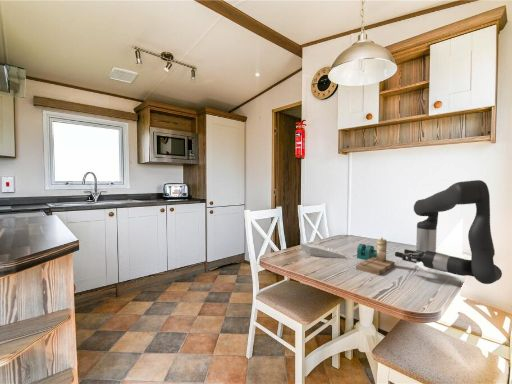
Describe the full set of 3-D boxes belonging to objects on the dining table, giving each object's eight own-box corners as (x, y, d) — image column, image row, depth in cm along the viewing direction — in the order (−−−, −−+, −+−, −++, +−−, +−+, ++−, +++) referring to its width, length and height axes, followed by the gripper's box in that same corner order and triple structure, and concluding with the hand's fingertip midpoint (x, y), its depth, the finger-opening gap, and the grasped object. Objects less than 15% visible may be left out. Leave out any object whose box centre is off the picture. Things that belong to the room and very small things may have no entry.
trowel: (349, 255, 150) (349, 246, 150) (341, 262, 137) (341, 252, 137) (305, 248, 166) (305, 239, 166) (294, 253, 153) (294, 244, 153)
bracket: (368, 261, 138) (369, 247, 138) (357, 258, 143) (357, 244, 143) (382, 254, 150) (382, 241, 150) (370, 252, 155) (371, 239, 155)
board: (372, 260, 139) (373, 256, 139) (394, 265, 131) (394, 261, 131) (356, 269, 125) (356, 264, 125) (379, 275, 117) (379, 270, 117)
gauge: (378, 258, 136) (379, 236, 135) (387, 260, 132) (388, 237, 132) (374, 260, 133) (375, 237, 132) (384, 262, 129) (384, 239, 129)
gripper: (445, 250, 115) (407, 243, 128) (430, 255, 107) (392, 247, 120) (444, 266, 115) (407, 257, 128) (430, 273, 107) (391, 262, 121)
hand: (400, 252), depth 124 cm, fingers open, 8 cm apart
